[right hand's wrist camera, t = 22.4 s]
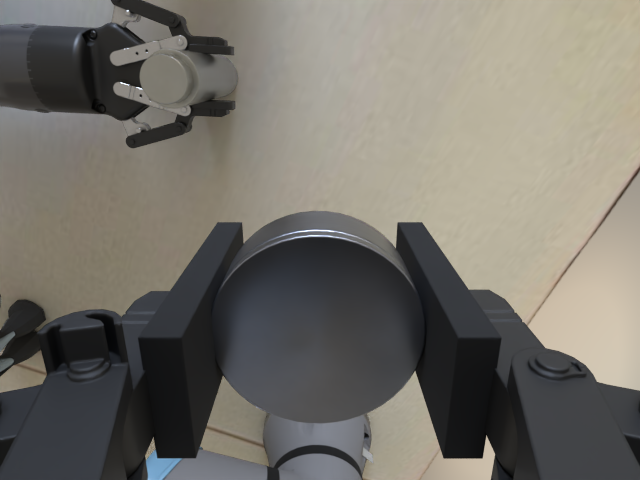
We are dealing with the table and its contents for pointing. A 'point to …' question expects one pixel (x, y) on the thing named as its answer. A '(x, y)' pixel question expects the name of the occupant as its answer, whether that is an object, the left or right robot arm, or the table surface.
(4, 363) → the robot
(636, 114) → the table surface
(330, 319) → the lid
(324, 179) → the table surface
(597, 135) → the table surface
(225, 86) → the grey capped cylinder
